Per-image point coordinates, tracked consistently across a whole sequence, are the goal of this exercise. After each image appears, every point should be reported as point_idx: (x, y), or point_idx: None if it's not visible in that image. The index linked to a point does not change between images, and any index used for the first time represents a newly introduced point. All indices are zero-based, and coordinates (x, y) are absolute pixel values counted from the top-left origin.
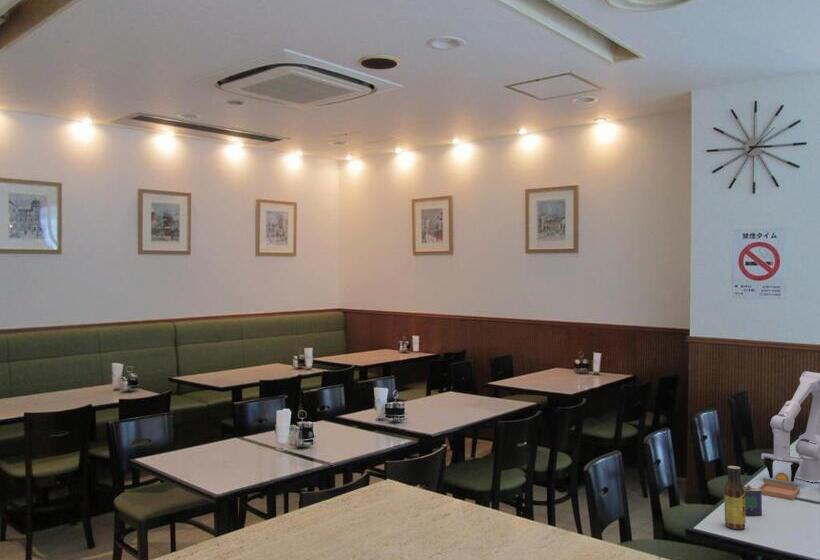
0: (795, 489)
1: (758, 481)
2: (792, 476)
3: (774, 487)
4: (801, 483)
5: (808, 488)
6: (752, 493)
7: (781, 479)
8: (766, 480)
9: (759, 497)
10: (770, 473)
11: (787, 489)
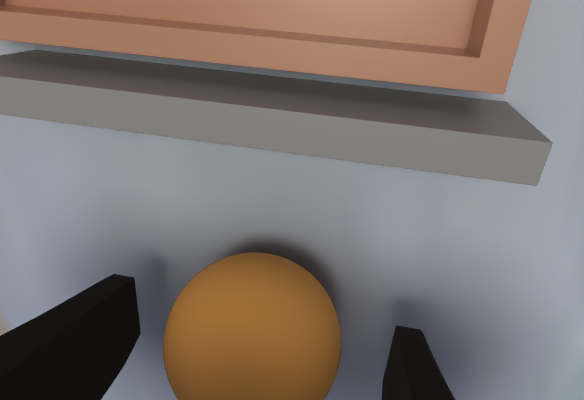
0: (14, 9)
1: (573, 285)
2: (51, 317)
3: (330, 23)
4: (126, 393)
5: (18, 266)
6: None
7: (241, 274)
8: (480, 122)
9: None
10: (417, 380)
11: (137, 17)
